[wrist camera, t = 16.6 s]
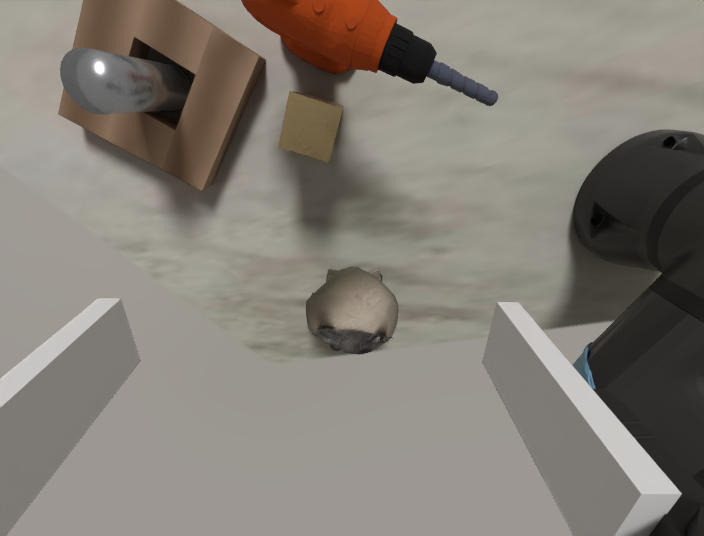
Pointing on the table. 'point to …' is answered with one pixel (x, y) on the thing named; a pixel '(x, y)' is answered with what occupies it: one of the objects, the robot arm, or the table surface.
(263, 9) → the toy drill
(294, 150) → the light brown rectangular block
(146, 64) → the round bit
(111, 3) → the socket block
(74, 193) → the table surface
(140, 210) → the table surface
